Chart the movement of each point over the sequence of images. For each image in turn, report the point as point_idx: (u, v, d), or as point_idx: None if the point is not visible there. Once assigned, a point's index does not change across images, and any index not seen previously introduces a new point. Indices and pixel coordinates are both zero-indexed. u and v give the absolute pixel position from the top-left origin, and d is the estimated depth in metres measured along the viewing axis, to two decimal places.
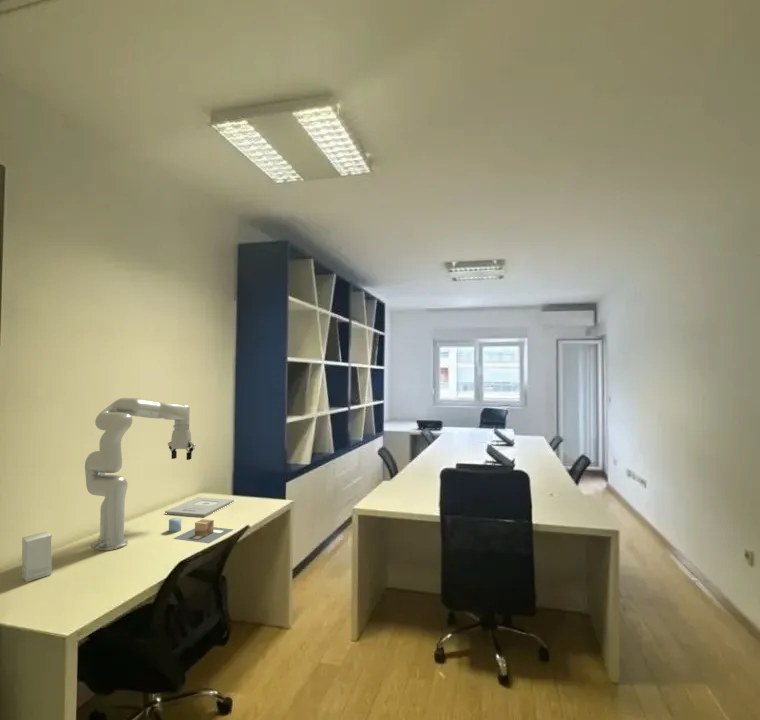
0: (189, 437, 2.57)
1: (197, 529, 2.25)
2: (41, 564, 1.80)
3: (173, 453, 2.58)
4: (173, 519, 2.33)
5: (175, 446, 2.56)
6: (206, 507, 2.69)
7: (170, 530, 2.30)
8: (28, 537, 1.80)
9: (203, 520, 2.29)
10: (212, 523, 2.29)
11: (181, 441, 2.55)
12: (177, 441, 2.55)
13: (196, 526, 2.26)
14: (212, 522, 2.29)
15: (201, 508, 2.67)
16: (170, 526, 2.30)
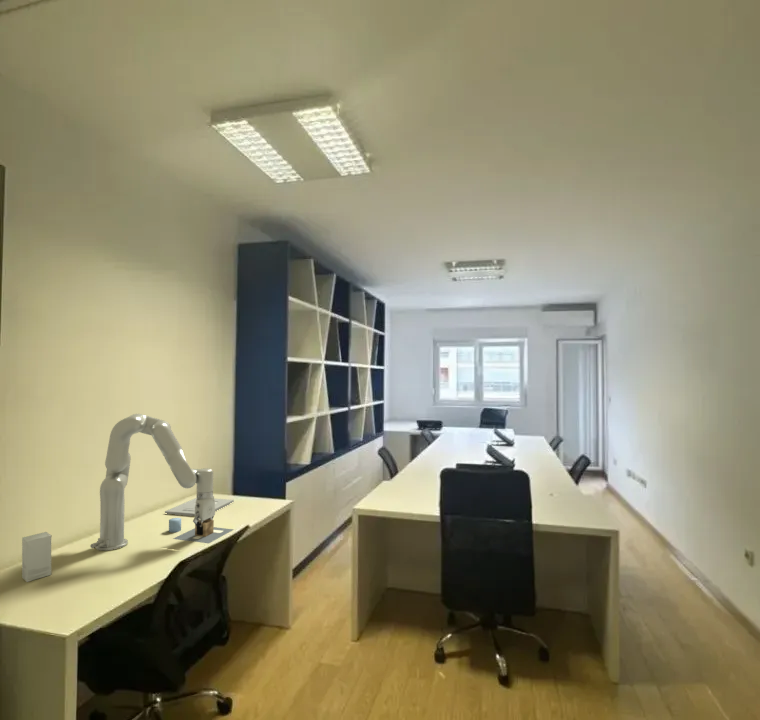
0: None
1: None
2: (41, 564, 1.80)
3: None
4: (173, 519, 2.33)
5: (207, 516, 2.26)
6: None
7: (170, 530, 2.30)
8: (28, 537, 1.80)
9: None
10: (212, 523, 2.29)
11: (212, 508, 2.29)
12: (209, 509, 2.27)
13: (196, 526, 2.26)
14: (212, 522, 2.29)
15: None
16: (170, 526, 2.30)
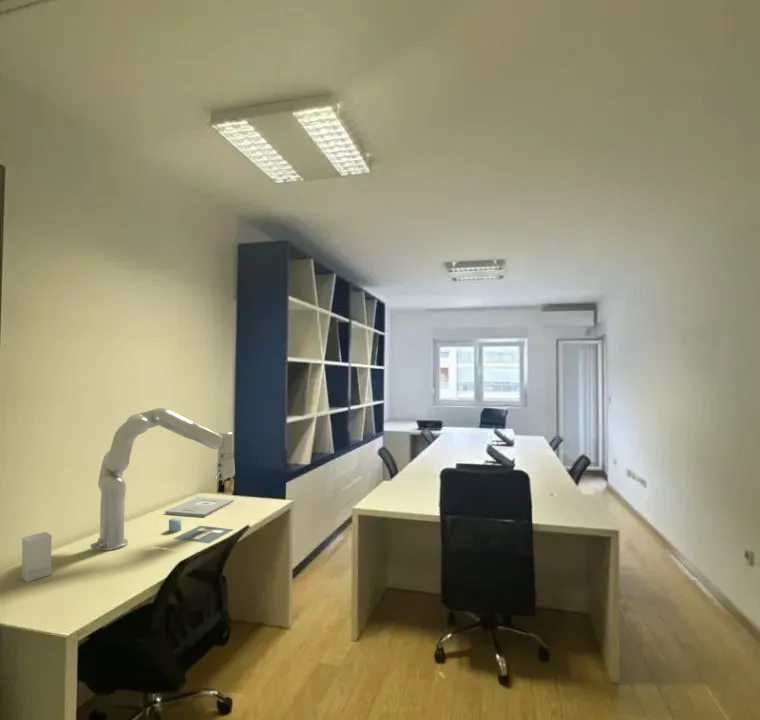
0: None
1: None
2: (41, 564, 1.80)
3: None
4: (173, 519, 2.33)
5: (228, 475, 2.44)
6: (206, 507, 2.69)
7: (170, 530, 2.30)
8: (28, 537, 1.80)
9: None
10: (232, 482, 2.47)
11: (232, 468, 2.47)
12: (230, 469, 2.45)
13: None
14: (232, 481, 2.47)
15: (201, 508, 2.67)
16: (170, 526, 2.30)
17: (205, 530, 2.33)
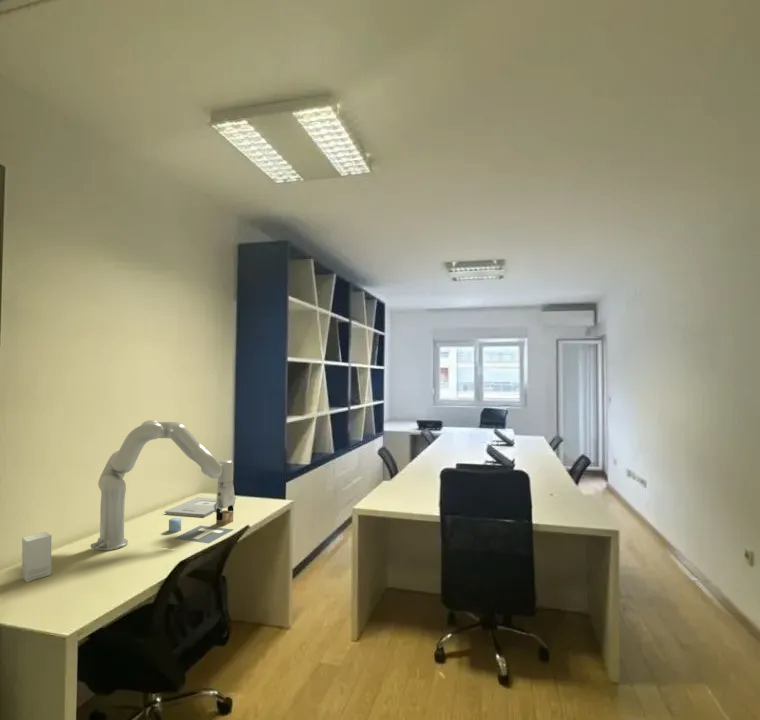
0: None
1: None
2: (41, 564, 1.80)
3: None
4: (173, 519, 2.33)
5: (227, 504, 2.43)
6: (206, 507, 2.69)
7: (170, 530, 2.30)
8: (28, 537, 1.80)
9: (223, 511, 2.47)
10: (232, 514, 2.47)
11: (232, 497, 2.47)
12: (229, 498, 2.45)
13: None
14: (232, 513, 2.47)
15: (201, 508, 2.67)
16: (170, 526, 2.30)
17: (205, 530, 2.33)
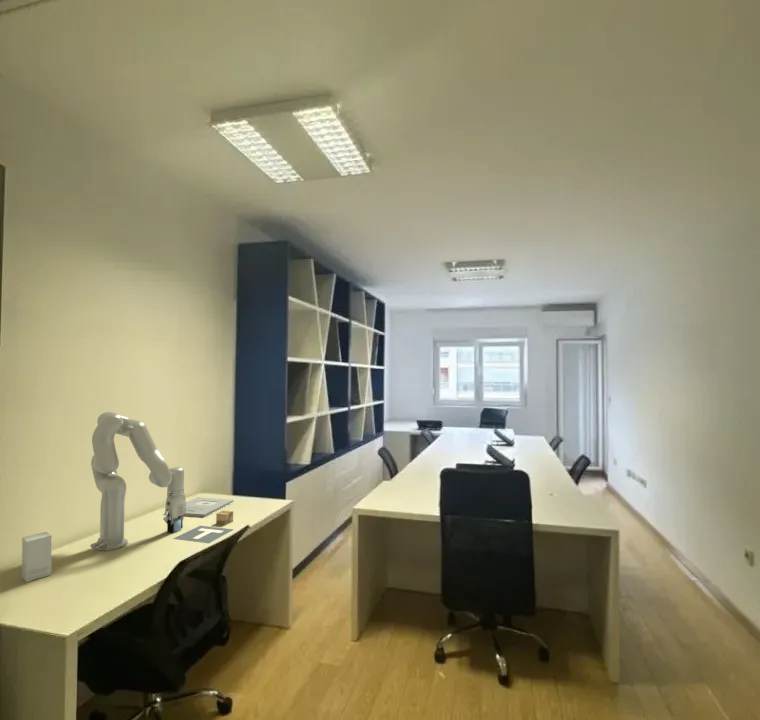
0: None
1: (218, 519, 2.43)
2: (41, 564, 1.80)
3: None
4: None
5: (177, 514, 2.30)
6: (206, 507, 2.69)
7: None
8: (28, 537, 1.80)
9: (223, 511, 2.47)
10: (232, 514, 2.47)
11: (182, 506, 2.34)
12: (179, 507, 2.32)
13: (217, 517, 2.43)
14: (232, 513, 2.47)
15: (201, 508, 2.67)
16: None
17: (205, 530, 2.33)
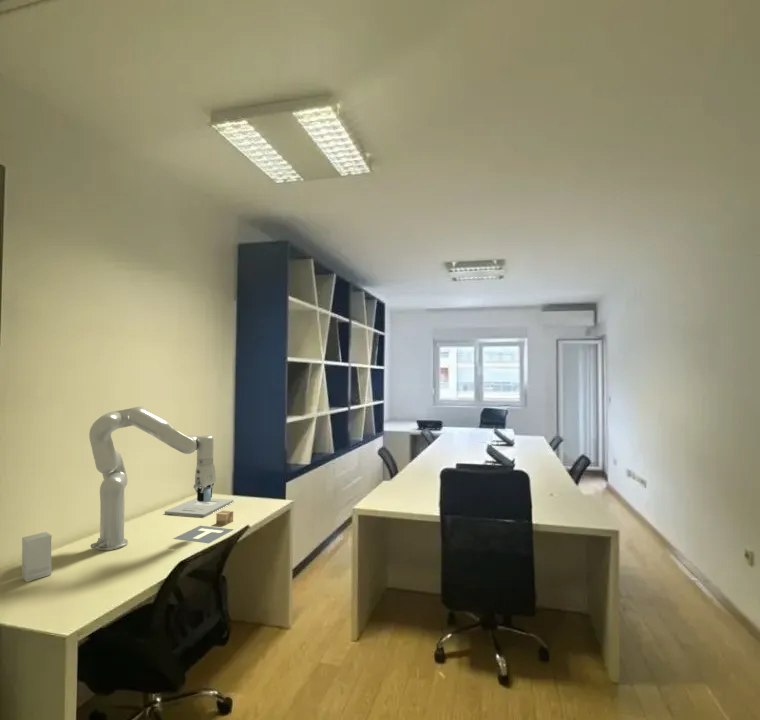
0: None
1: (218, 519, 2.43)
2: (41, 564, 1.80)
3: None
4: None
5: (207, 483, 2.26)
6: (206, 507, 2.68)
7: None
8: (28, 537, 1.80)
9: (223, 511, 2.47)
10: (232, 514, 2.47)
11: (212, 475, 2.30)
12: (209, 476, 2.28)
13: (217, 517, 2.43)
14: (232, 513, 2.47)
15: (201, 508, 2.67)
16: None
17: (205, 530, 2.33)
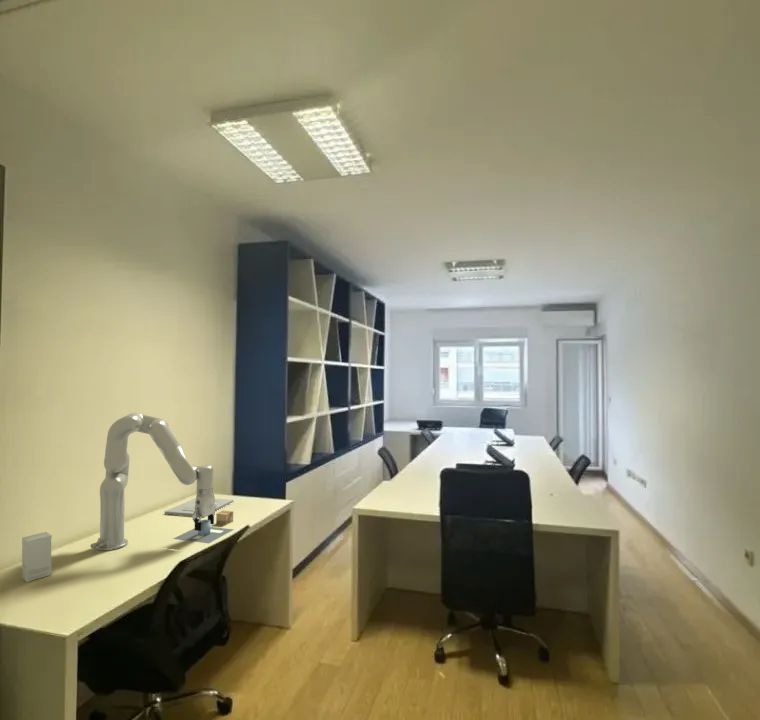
0: None
1: (218, 519, 2.43)
2: (41, 564, 1.80)
3: None
4: (202, 521, 2.28)
5: (207, 513, 2.26)
6: None
7: (200, 532, 2.25)
8: (28, 537, 1.80)
9: (223, 511, 2.47)
10: (232, 514, 2.47)
11: (212, 505, 2.29)
12: (209, 506, 2.27)
13: (217, 517, 2.43)
14: (232, 513, 2.47)
15: None
16: None
17: None
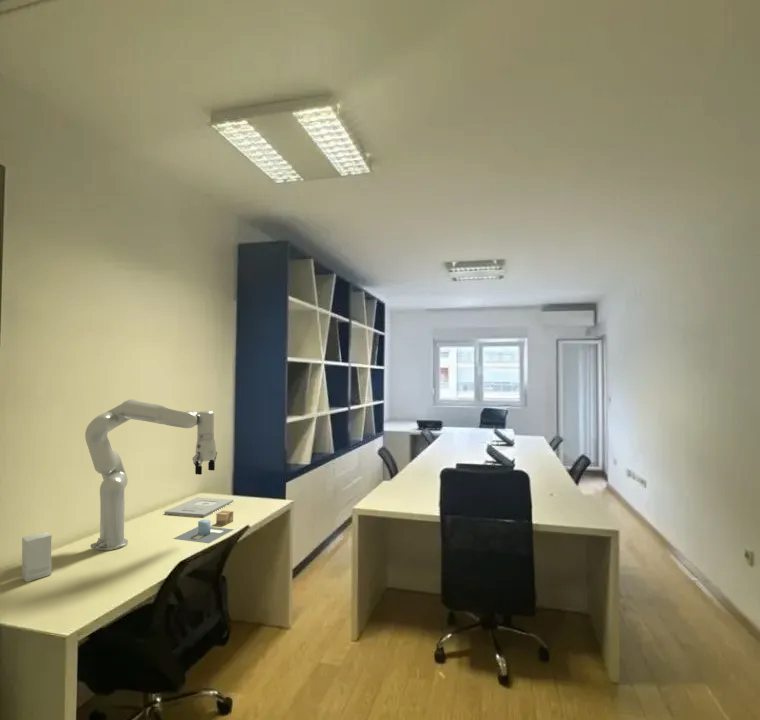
0: None
1: (218, 519, 2.43)
2: (41, 564, 1.80)
3: None
4: (202, 521, 2.28)
5: (208, 458, 2.26)
6: (206, 507, 2.68)
7: (200, 532, 2.25)
8: (28, 537, 1.80)
9: (223, 511, 2.47)
10: (232, 514, 2.47)
11: (213, 450, 2.30)
12: (210, 451, 2.28)
13: (217, 517, 2.43)
14: (232, 513, 2.47)
15: (201, 508, 2.66)
16: (200, 528, 2.25)
17: None
